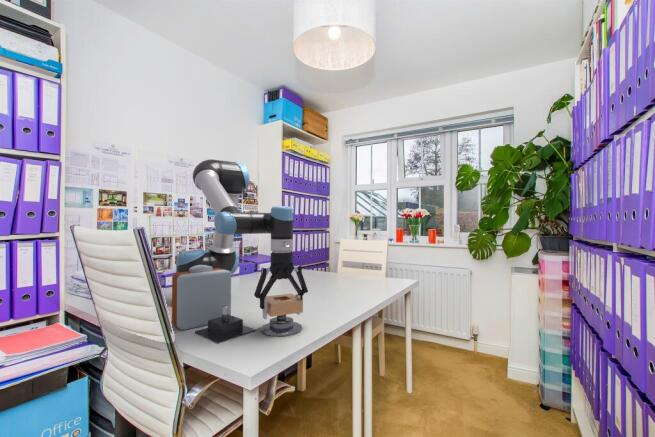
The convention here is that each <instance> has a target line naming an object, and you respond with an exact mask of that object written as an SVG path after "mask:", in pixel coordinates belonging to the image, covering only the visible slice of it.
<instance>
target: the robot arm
mask: <svg viewBox="0 0 655 437" xmlns="http://www.w3.org/2000/svg"><path fill="white" fill-rule="evenodd" d="M192 180H193V183H194V185H195V187H196V188H197V189H198V190H199V191H201V192H202V194H203V195H204V197H205V198H206V200H207V201H208V203H209V205H210V207H211V208H212V211H213V212H214V214H215V217H214V227H215V229H214V238H213V244H212V245H211V246H210V247H209V251H207V252H206V251H205V249H204V248H203V249H202V248H201V249H192V250H185V251H182V252H180V253H179V254H177V255H176V260H175V262H176V263H175V268H176V269H175V273H179V272H189V268H191V267H193V266H196V265H207V266H211V267H212V269H216V268H220V269H224V270H228V271H230V273H231V275H234V274H235V273H236V272H237V270H238V267H239V265H240V264H239V263H240V259H239V257H240V256H239V253H238V251H237V250H236V248H235V247H234V237H235V235H248V234H249V235H252V234H253V235H255V234H256V235H257V234H259V235H260V234H262V235H263V234H264V235H265V234H270V251H271V253H270V265H269V267H261V268H260V276H259V279H258V282H257V285H256V287H255V291H254V294H253V296H254V297H255V298H256V299H258V300H259V308H260V309H261V310H262V318H263V319H264V320H267V319H268V314H267V299H266V298H265V297H266V296H268V294H269V292H270V290H271V289H272V287H273V286H274V284H275V283H276V281H277V280H278V281H279V280H283V279H284V280H288V281H289V282H290V283H291V285H292V286H293V287H292V288H294V290H295V292H296V294H294V295H295V296H296V297H298V298H300V299H302V300H303V299H304V298H303V296H304V295H305V294H307V293H308V292H309V290H308V287H307V283H306V281H305V278H304V276H303V272H302V270H303V268H302V266H301V265H298V264H297V265H294V253H293V251H294V250H293V249H294V246H293V245H294V238H293V237H294V216H293V215H294V214H293V208H292V207H291V206H285V205H283V206H282V205H281V206H280V205H278V206H272V207H271V209H270V212H250V211H249V212H244V211H243V212H242V211H241V210H239V208H238V205H239V198H240V196H242V195H243V193H244V190H247V189H248V188H249V185H250V180H251V178H250V172H249V170H248V167H247V166H246V165H245V164H244V163H241V162H237V161H229V160H228V161H227V160H217V159H211V158H209V159H205V160H203V161H201V162H199V163H198V164H197V165H196V166H195V168H194V169H193V172H192ZM293 271H294V272H295V273H296V276H297V279H298V283H299V284H298V283H297V281H296V279H295V278H294V276H293V274H292V273H293ZM269 272H270V273H271V276H270V277H269V280H268V281H267V283H266V285H265V286H264V284H265V281H266V279H267V275H269ZM303 301H304V300H303ZM295 314H296V315H298V316H299V315H301V313H295Z"/></svg>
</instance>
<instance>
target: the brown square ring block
mask: <svg viewBox="0 0 655 437" xmlns="http://www.w3.org/2000/svg"><path fill="white" fill-rule="evenodd" d="M265 298H266V299H267V316H269V317H270V318H271V317H272V318H274V317H277V316H280V315H286V316H288V315H293V314H296V313H300V314H301V313H302V314H303V313H304V304H303V303H304V300H302V299H300V298H298V297H296V296H295V294H293V293H285V294H284V293H283V294H274V295H266V297H265Z"/></svg>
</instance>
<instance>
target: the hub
mask: <svg viewBox="0 0 655 437" xmlns="http://www.w3.org/2000/svg"><path fill="white" fill-rule="evenodd" d="M302 330H303V326H302V324H301V323H299V322H296V321H294V319H293V317H290V316H287V315H280V316H274V317H272V318H270V319H269V322H268V323H264V324H263V325H262V326H261V327H260V332H261V334H263V335H265V336H269V337H279V338H280V337H290V336H294V335H297V334H298V333H300V332H302Z"/></svg>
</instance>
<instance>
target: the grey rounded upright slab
mask: <svg viewBox="0 0 655 437" xmlns="http://www.w3.org/2000/svg"><path fill="white" fill-rule="evenodd" d="M224 305H229V315H231V316H232V274H231V273H230V271H228V270H224V269H220V268H216V269H212V267H211V266H207V265H196V266H193V267H191V268H189V272H179V273H176V272H175V273H173V275H172V277H171V323H172V324H173V325H174V327H176V328H178V329H179V330H181V331H186V330H187V331H188V330H191V329H195V328H200V327H204V326H208V320H211V319H215V318H219V317H222V306H224Z"/></svg>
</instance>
